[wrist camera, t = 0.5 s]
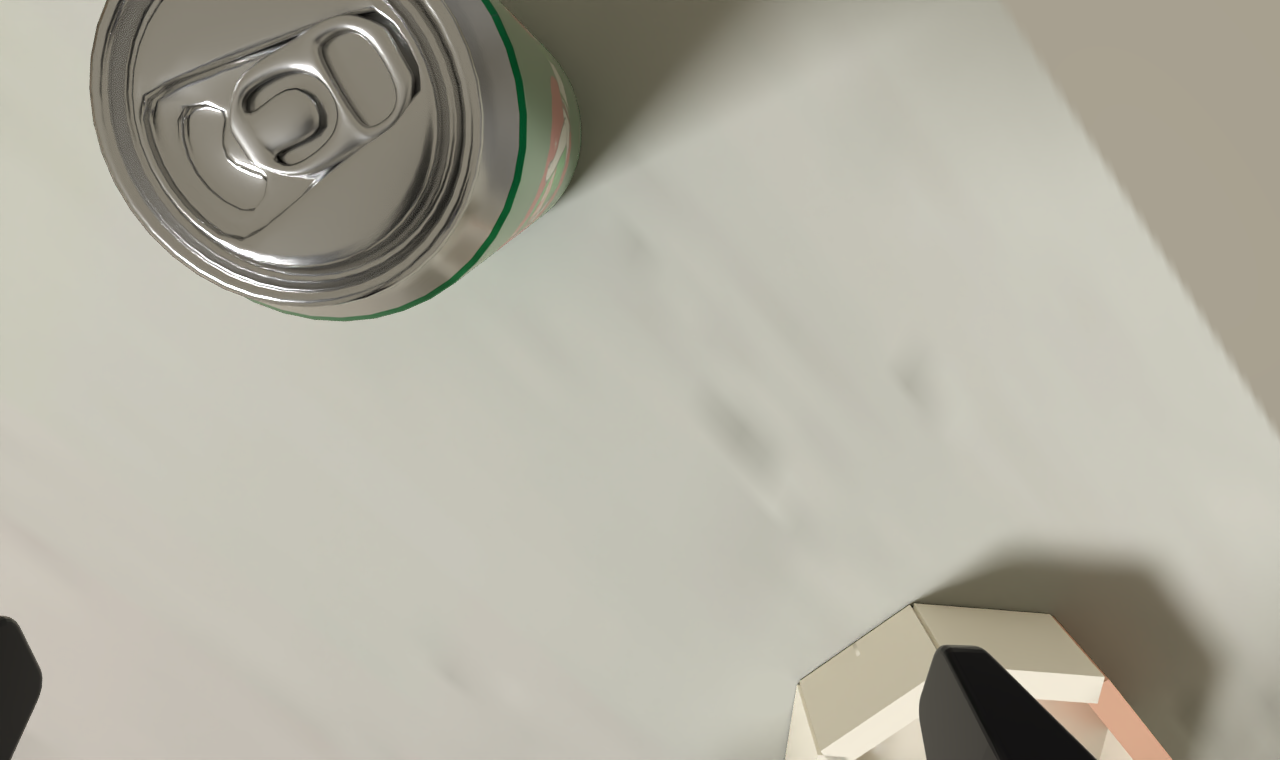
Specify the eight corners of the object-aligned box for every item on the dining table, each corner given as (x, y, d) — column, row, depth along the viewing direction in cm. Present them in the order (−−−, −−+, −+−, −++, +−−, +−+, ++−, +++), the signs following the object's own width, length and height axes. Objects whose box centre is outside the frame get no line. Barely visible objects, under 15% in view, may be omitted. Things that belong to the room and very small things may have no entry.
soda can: (338, 86, 21) (-48, 14, 9) (517, -21, 20) (350, -246, 8) (447, 269, 22) (231, 413, 10) (619, 174, 21) (597, 212, 10)
